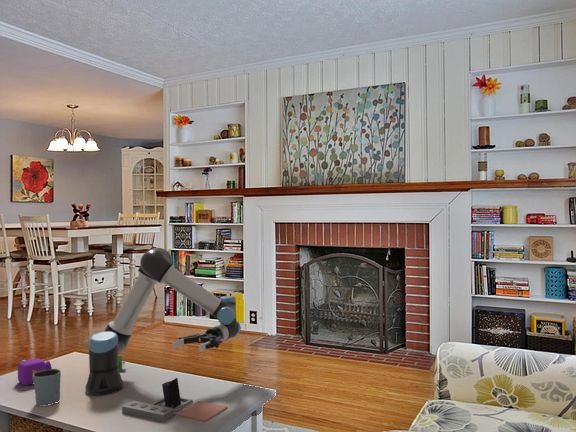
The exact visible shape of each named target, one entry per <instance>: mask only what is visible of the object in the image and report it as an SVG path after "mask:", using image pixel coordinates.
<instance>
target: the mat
mask: <svg viewBox="0 0 576 432" xmlns="http://www.w3.org/2000/svg"><path fill="white" fill-rule="evenodd" d="M228 408H229V405H228V406H227V405H224V404H219V403H218V404H217V403H212V402H207V401H202V400H196V401H195V402H192V403H191V404H189V405H187V406H185V407H184V408H182V409H180V410H178V411H177V412H175V413H174V416H176V417H177V416H178V417H181V418H186V419H191V420H196V421H200V422H208V421H209V420H212V419H213V418H214V417H216V416H218V415H219V414H220V413H221V412H222V413H223V412H224V411H225V410H227V409H228Z"/></svg>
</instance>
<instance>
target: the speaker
mask: <svg viewBox="0 0 576 432" xmlns="http://www.w3.org/2000/svg"><path fill="white" fill-rule="evenodd" d="M161 385H162V394H163V398H164V407H165V406H166V407H171V406H172V409H174V408H176V407H177V406H179V405H181V404H182V401H181V399H180V397H181V392H180V386H179V380H178V377H175V378H174V379H172V380H169V381H166V382H163V383H162V384H161Z"/></svg>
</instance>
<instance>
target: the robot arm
mask: <svg viewBox="0 0 576 432" xmlns="http://www.w3.org/2000/svg"><path fill="white" fill-rule="evenodd" d="M172 261H173V260H172V255H171V253H170V252H169V251H168V250H167V249H165V248H162V247H154V248H152V249H149V250H148V251H146V252H145V253H143V254H142V256H141V258H140V263H139V264H140V265H139V266H138V269H137V272H138V276H137V278H136V280H135V282H134V283H133V285H132V287H131V289H130V291H129V293H128V295H127V296H126V298H125V299H124V301H123V304H122V305H121V307H120V309H119V311H118V313H117V314H116V316H115V318H114V319H113V320H112V321H109V322H108V323H107V325H106V327H105V329H104V330H103V331H100V332H98V333H95V334H93V335H91V336H90V337H89V340H88V345H87V346H88V347H87V348H88V358H89V359H88V360H89V361H88V362H89V363H88V364H89V366H88V368H89V373H88V378H87V381H86V384H85V387H84V388H85V394H87V395H89V396H107V395H111V394H115V393H117V392H119V391H121V390H122V389H123V388H124V381H123V379H122V376H121V373H120V370H118V356H120V354H121V353H122V352H123V351H124V350H126V348H127V346H128V343H129V340H130V339H131V336H132V334H133V330H132V328H133V326H134V324H135V323H136V320H137V319H138V317H139V315H140V313H141V312H142V309H143V308H144V306H145V304H146V302H147V300H148V299H149V297H150V295H151V294H152V292H153V290H154V287H156V285H157V283H160V284H165V285H167V286H168V287H169V288H172V290H174V291H176V292H177V293H179V294H180V295H181V296H183V297H184V298H186V299H188V300H189V301H191V302H192V303H193V304H195V305H196V306H198V307H200V308H201V309H203V310H204V311H205V312H207V313H208V314H210V315H211V316H213V317H214V318H215V319H217V320H218V323H219V324H218V325H215V326H213V327H210V328H207V329H206V331H205V333H202V334H200V333H195V334H190V335H185V336H180V337H178V339H177V340H175V341H173V342H172V345H171V346H172V350H175V349H178V348H181V347H184V346H185V345H188V344H189V345H190V344H195V343H197V344H199V345H198V352H199V353H202V352H205V351H207V350H209V349H213V348H215V349H219V347H220V345H221V344H222V343H223V342H225V341H227V340H230V339H232V338H235V337H237V336H238V335H239V334H240V332H241V331H242V330H241V329H242V327H241V324H240V322H239V321H238V320H237V301H236V297H235V296H234V295H224V296H221V297H218V296H216V295H214V294H213V293H211V292H210V291H208V290H207V289H206V288H205V287H203V286H201V285H200V284H198V283H197V282H195V281H194V280H193V279H191V278H190V277H188V276H186V275H185V274H184V273H182V272H181V271H179V270H178V269H177V268H175V265H174V263H172Z"/></svg>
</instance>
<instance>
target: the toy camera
mask: <svg viewBox="0 0 576 432" xmlns="http://www.w3.org/2000/svg"><path fill="white" fill-rule="evenodd" d="M47 369H53V368H52V364H51V362H50V360H46V362H45V361H44V360H43V359H41V358H32V359H27V360H26V359H23V360H21V361H19V362H18V363H17V381H18V382H19V383H20V384H22V385H23V386H31V385H34V384H33V383H34V381H33V374H34V373H36V372H38V371H42V370H47ZM30 384H31V385H30Z"/></svg>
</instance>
